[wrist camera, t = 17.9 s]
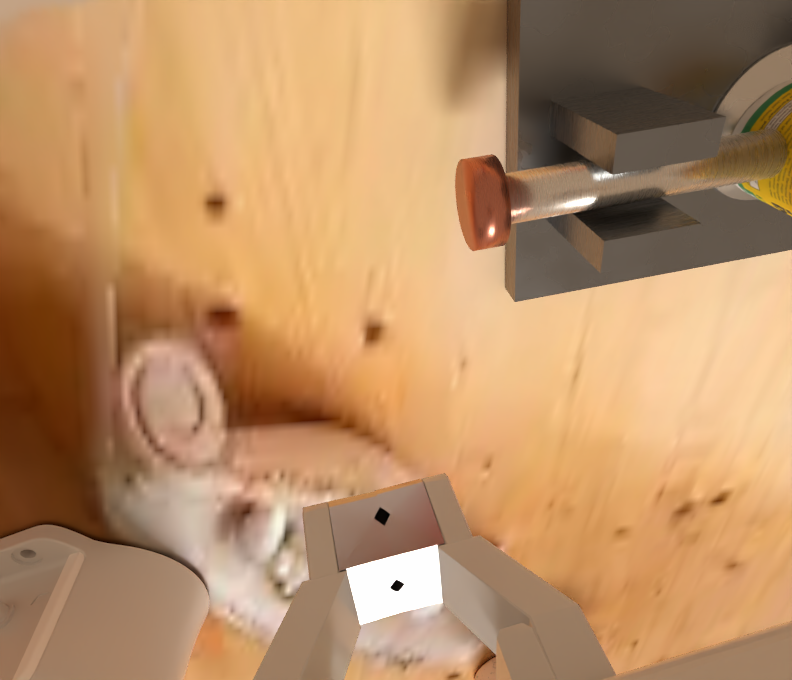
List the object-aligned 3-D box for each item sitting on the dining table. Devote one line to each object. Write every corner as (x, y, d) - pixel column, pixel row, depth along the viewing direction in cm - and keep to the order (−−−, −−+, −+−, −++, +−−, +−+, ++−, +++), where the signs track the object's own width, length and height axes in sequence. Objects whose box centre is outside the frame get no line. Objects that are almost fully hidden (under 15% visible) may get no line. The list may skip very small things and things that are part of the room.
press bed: (505, 288, 30) (562, 371, 24) (507, -16, 22) (594, -6, 16) (793, 234, 31) (917, 300, 25) (896, -71, 23) (1114, -82, 17)
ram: (457, 229, 25) (481, 266, 22) (453, 148, 23) (479, 176, 20) (729, 181, 26) (787, 210, 23) (749, 99, 24) (816, 119, 21)
